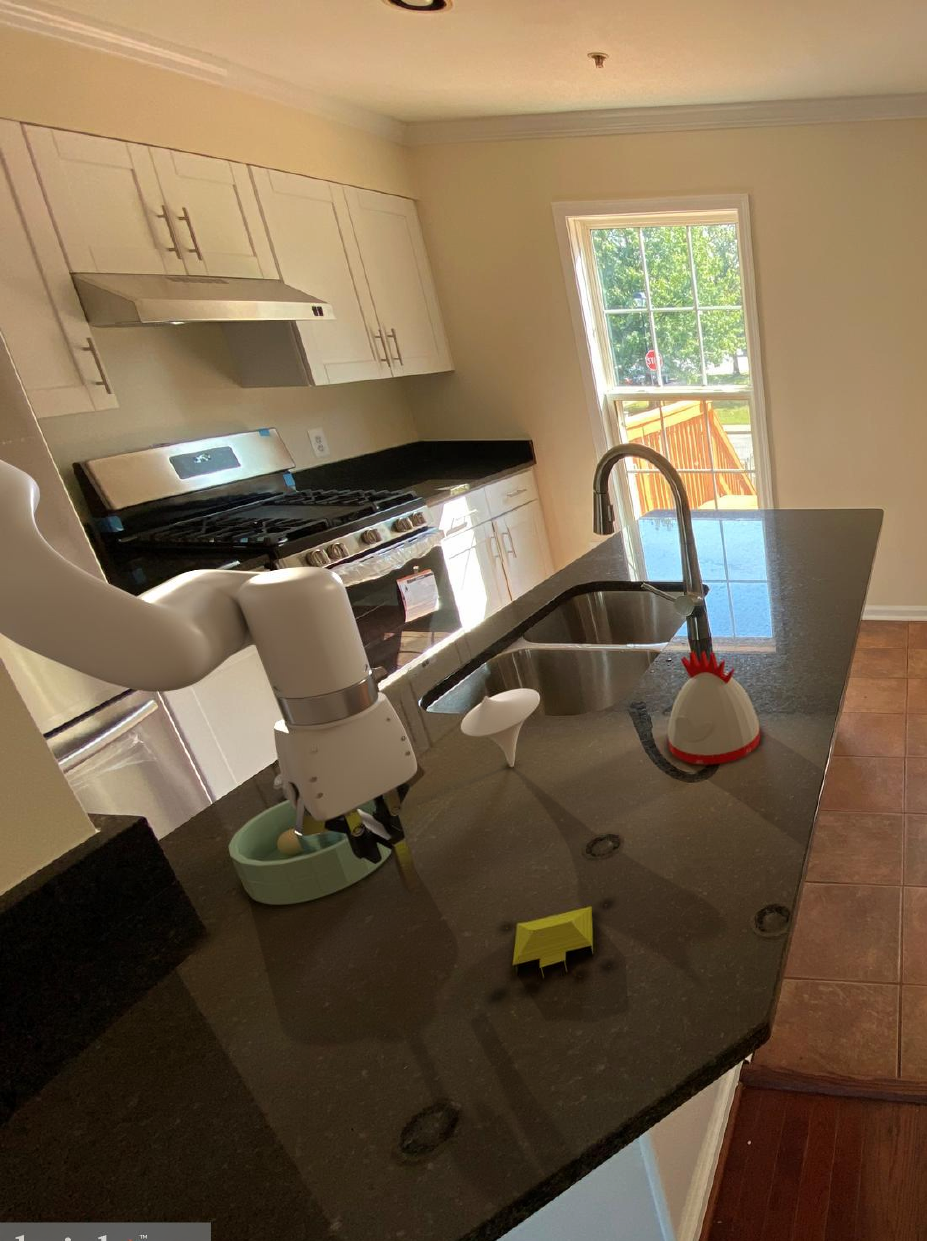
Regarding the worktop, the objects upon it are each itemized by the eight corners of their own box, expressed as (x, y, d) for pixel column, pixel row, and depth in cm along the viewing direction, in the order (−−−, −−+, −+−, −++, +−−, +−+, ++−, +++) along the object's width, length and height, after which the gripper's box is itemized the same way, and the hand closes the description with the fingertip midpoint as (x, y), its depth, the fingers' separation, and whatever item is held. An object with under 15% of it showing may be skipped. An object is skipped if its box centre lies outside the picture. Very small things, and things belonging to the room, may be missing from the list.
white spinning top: (482, 796, 94) (462, 719, 89) (465, 761, 102) (447, 689, 97) (561, 770, 100) (547, 697, 95) (540, 739, 108) (526, 670, 103)
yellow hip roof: (606, 905, 76) (603, 885, 75) (609, 970, 68) (605, 948, 67) (506, 929, 73) (501, 908, 72) (497, 1000, 65) (491, 978, 64)
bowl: (220, 876, 79) (203, 838, 77) (354, 809, 91) (342, 774, 89) (287, 922, 73) (270, 882, 71) (421, 844, 85) (410, 807, 83)
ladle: (292, 845, 79) (272, 796, 76) (340, 821, 83) (322, 774, 80) (390, 903, 71) (372, 850, 68) (438, 873, 75) (422, 822, 72)
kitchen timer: (696, 713, 116) (688, 630, 110) (773, 725, 113) (769, 640, 107) (651, 756, 104) (640, 665, 98) (736, 771, 100) (729, 678, 94)
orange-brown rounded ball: (276, 854, 82) (268, 834, 81) (304, 840, 85) (297, 820, 83) (289, 863, 81) (281, 842, 80) (318, 848, 83) (310, 827, 82)
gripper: (390, 659, 74) (432, 802, 81) (209, 725, 61) (278, 886, 69) (433, 674, 71) (473, 821, 78) (251, 746, 58) (319, 913, 65)
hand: (381, 850), depth 73 cm, fingers closed on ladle
